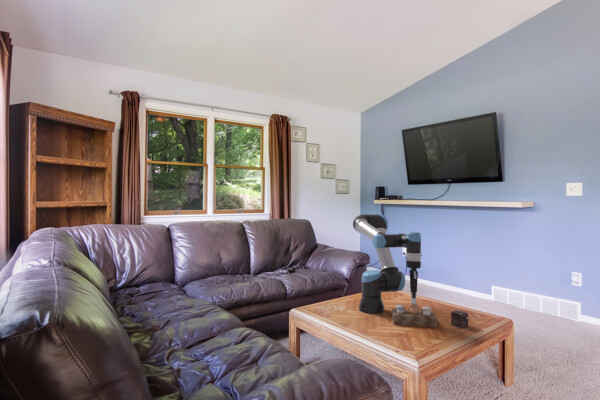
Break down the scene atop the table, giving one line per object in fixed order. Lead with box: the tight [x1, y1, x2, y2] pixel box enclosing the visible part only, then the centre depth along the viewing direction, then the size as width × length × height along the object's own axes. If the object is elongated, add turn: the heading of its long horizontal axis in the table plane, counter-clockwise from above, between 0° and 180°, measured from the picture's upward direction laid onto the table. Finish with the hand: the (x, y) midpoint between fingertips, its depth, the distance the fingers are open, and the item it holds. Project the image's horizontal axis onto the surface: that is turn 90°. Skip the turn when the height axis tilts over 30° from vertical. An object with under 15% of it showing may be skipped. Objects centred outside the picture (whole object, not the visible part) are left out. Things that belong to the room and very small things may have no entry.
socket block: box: [391, 308, 438, 328], centre depth 181 cm, size 22×11×5 cm, turn 79°
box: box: [450, 309, 469, 329], centre depth 177 cm, size 6×6×7 cm
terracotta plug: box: [408, 302, 419, 315], centre depth 181 cm, size 5×5×8 cm
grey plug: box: [395, 304, 406, 314], centre depth 183 cm, size 5×5×8 cm
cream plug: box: [422, 305, 432, 315], centre depth 180 cm, size 5×5×8 cm
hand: (413, 303), depth 181 cm, fingers closed
